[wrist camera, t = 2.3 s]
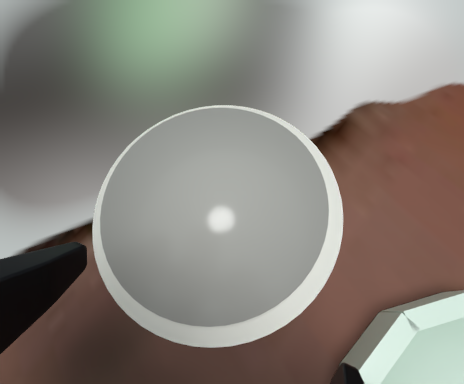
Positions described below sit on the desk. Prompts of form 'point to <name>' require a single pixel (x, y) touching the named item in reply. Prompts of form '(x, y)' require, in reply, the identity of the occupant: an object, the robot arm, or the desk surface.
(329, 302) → the desk surface
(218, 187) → the white cylinder
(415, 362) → the bowl
